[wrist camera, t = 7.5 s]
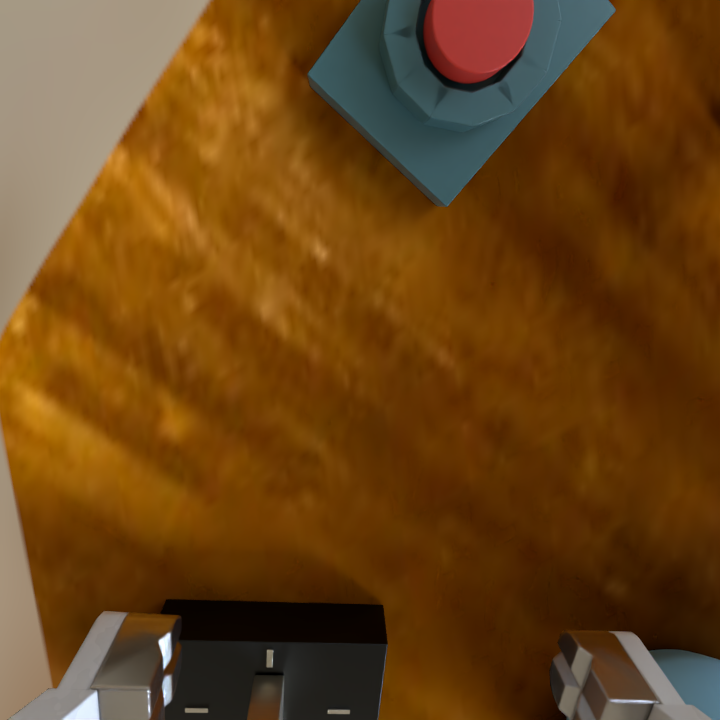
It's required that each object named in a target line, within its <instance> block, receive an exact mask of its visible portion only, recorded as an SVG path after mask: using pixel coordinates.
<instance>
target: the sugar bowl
mask: <svg viewBox="0 0 720 720" xmlns="http://www.w3.org/2000/svg"><path fill="white" fill-rule="evenodd" d="M649 653H650V654H651V656H652V657H653V659H654V660H655V661H656V663H657V664H658V666H659V667H660V669H661V670H662V671H663V673H664V674H665V676H666V677H667V678H668V680H669V681H670V683H671V684H672V686H673V687H674V688H675V690H676V691H677V693H678V694H679V695H680V697H681V698H682V700H683V701H684V703H685V704H686V705H694V706H695V707H696V708H698V709H699V710H700V711H702V712H703V713H704V714H706V715H707V716H708V717H710V718H711V719H712V720H720V660H719V659H715V658H712V657H709V656H705V655H702V654H698V653H693V652H690V651H684V650H675V649H662V650H653V651H649ZM567 720H570V719H569V718H568V717H567Z"/></svg>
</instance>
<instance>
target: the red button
mask: <svg viewBox="0 0 720 720" xmlns="http://www.w3.org/2000/svg"><path fill="white" fill-rule="evenodd" d="M533 15H534V1H533V0H431V1H430V3H429V5H428V8H427V11H426V14H425V18H424V25H423V38H424V45H425V49H426V52H427V55H428V57H429V59H430V61H431V63H432V64H433V66H434V67H435V68H436V69H437V71H438V72H439V73H441V74H442V75H443V76H444V77H446V78H447V79H449V80H451V81H454V82H457V83H461V84H473V83H478V82H482V81H484V80H486V79H488V78H490V77H491V76H493V75H494V74H496V73H497V72H498V71H499V70H501V69H502V68H503V67H505V66H506V65H507V64H508V63H509V62H511V61H512V60H513V59H514V58H515V57H516V56H517V55H518V53H519V52H520V51H521V49H522V48H523V46H524V44H525V43H526V41H527V38H528V36H529V34H530V30H531V27H532V22H533Z"/></svg>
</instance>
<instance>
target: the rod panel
mask: <svg viewBox="0 0 720 720" xmlns="http://www.w3.org/2000/svg"><path fill="white" fill-rule="evenodd" d="M160 614H166V615H179V616H181V624H182V630H181V633H180V636H179V639H178V642H179V643H180V644H181V645H182V660H181V669H180V673H179V678H178V683H177V686H176V690H175V693H174V696H173V699H172V701H171V702H170V703H168V704H167V705H166V706H165V707H164V709H165V720H247V715H248V709H249V703H250V698H251V692H252V686H253V680H254V676H255V675H283V676H284V694H283V720H378V716H379V708H380V701H381V693H382V685H383V677H384V669H385V661H386V654H387V646H388V643H387V634H386V625H385V617H384V608H383V605H367V604H326V603H286V602H246V601H206V600H166V602H165V604H164V606H163V609H162V611H161V613H160Z"/></svg>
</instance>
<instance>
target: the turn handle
mask: <svg viewBox="0 0 720 720" xmlns="http://www.w3.org/2000/svg"><path fill="white" fill-rule="evenodd" d="M283 694H284V676H283V675H255V676H254V680H253V686H252V692H251V698H250V703H249V709H248V715H247V720H283Z"/></svg>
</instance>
